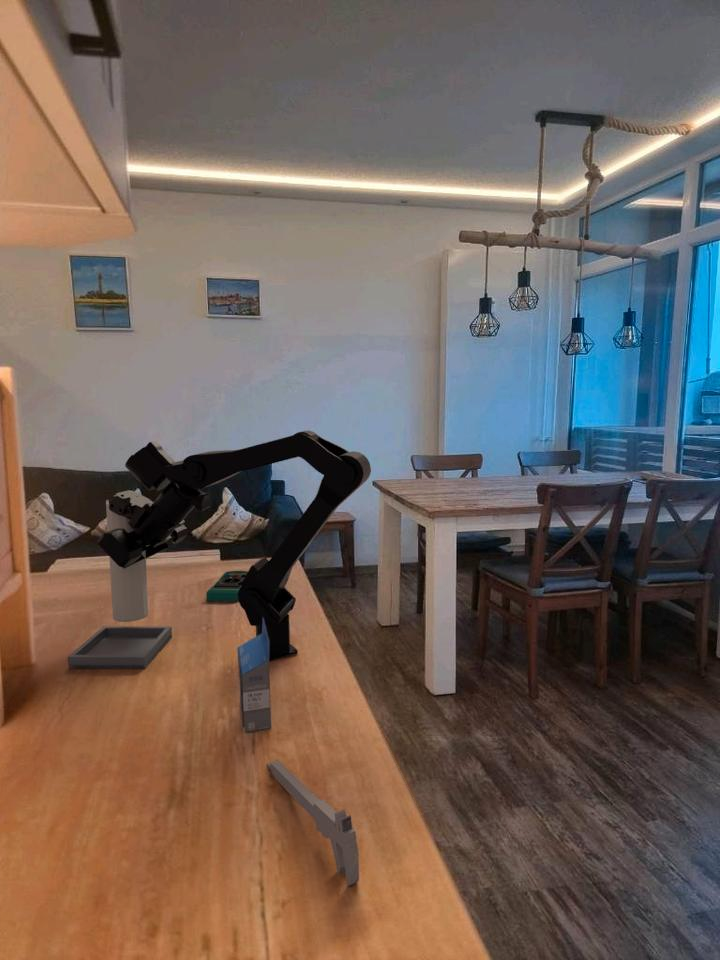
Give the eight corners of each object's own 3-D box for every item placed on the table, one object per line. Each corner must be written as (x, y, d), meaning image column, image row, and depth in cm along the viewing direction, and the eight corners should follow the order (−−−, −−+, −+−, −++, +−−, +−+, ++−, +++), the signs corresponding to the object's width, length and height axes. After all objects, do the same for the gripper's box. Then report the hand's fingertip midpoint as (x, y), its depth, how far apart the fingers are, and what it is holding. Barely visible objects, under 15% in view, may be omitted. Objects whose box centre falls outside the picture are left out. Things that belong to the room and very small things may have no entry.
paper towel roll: (150, 620, 104) (143, 501, 102) (113, 625, 101) (105, 503, 99) (147, 608, 110) (141, 496, 108) (112, 612, 108) (105, 498, 106)
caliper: (359, 886, 53) (359, 824, 52) (349, 892, 52) (348, 828, 51) (274, 764, 70) (273, 716, 69) (266, 767, 70) (264, 719, 69)
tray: (172, 636, 107) (171, 626, 107) (145, 668, 94) (144, 657, 94) (104, 636, 107) (103, 626, 107) (68, 668, 95) (67, 657, 94)
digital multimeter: (255, 581, 140) (254, 569, 139) (239, 603, 125) (238, 590, 125) (225, 581, 140) (224, 569, 140) (205, 603, 125) (205, 590, 125)
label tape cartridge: (238, 700, 85) (235, 619, 83) (265, 696, 86) (263, 616, 84) (243, 734, 76) (239, 644, 74) (273, 729, 77) (270, 641, 75)
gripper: (168, 469, 110) (122, 524, 114) (102, 484, 92) (51, 549, 96) (208, 511, 109) (161, 565, 114) (150, 534, 91) (96, 597, 96)
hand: (119, 567), depth 105 cm, fingers closed on paper towel roll, 3 cm apart
